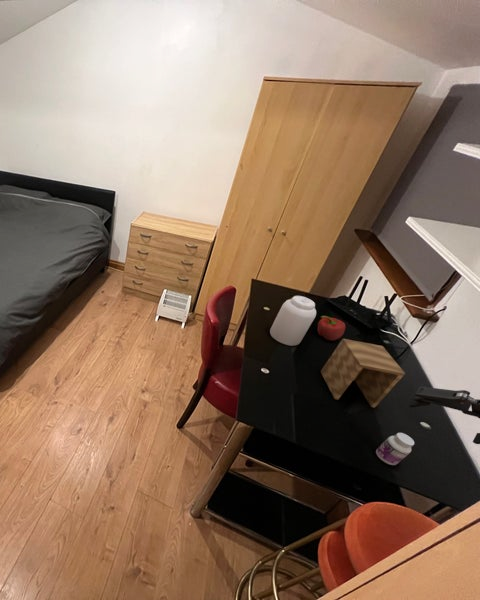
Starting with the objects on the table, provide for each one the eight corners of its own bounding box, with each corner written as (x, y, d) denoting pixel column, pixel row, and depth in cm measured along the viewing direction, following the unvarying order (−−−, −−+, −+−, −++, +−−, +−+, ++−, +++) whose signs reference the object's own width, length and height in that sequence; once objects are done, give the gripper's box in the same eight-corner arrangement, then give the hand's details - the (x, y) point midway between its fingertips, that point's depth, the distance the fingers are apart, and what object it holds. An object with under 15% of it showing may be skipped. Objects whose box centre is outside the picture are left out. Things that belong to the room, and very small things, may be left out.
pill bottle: (372, 446, 101) (391, 427, 95) (393, 453, 99) (413, 435, 93) (377, 460, 96) (397, 441, 91) (399, 469, 95) (420, 450, 89)
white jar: (278, 325, 152) (296, 289, 141) (305, 340, 143) (327, 303, 132) (263, 333, 146) (281, 296, 135) (291, 350, 137) (312, 312, 126)
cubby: (374, 407, 114) (405, 373, 104) (334, 398, 116) (360, 364, 106) (356, 379, 125) (382, 346, 116) (320, 371, 127) (342, 338, 118)
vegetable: (313, 339, 145) (323, 321, 139) (309, 326, 153) (319, 309, 147) (341, 346, 142) (353, 329, 136) (336, 333, 150) (347, 316, 144)
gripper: (440, 387, 69) (381, 400, 88) (609, 476, 58) (500, 468, 77) (456, 360, 70) (394, 378, 89) (623, 441, 59) (512, 442, 78)
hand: (443, 420), depth 83 cm, fingers open, 13 cm apart
